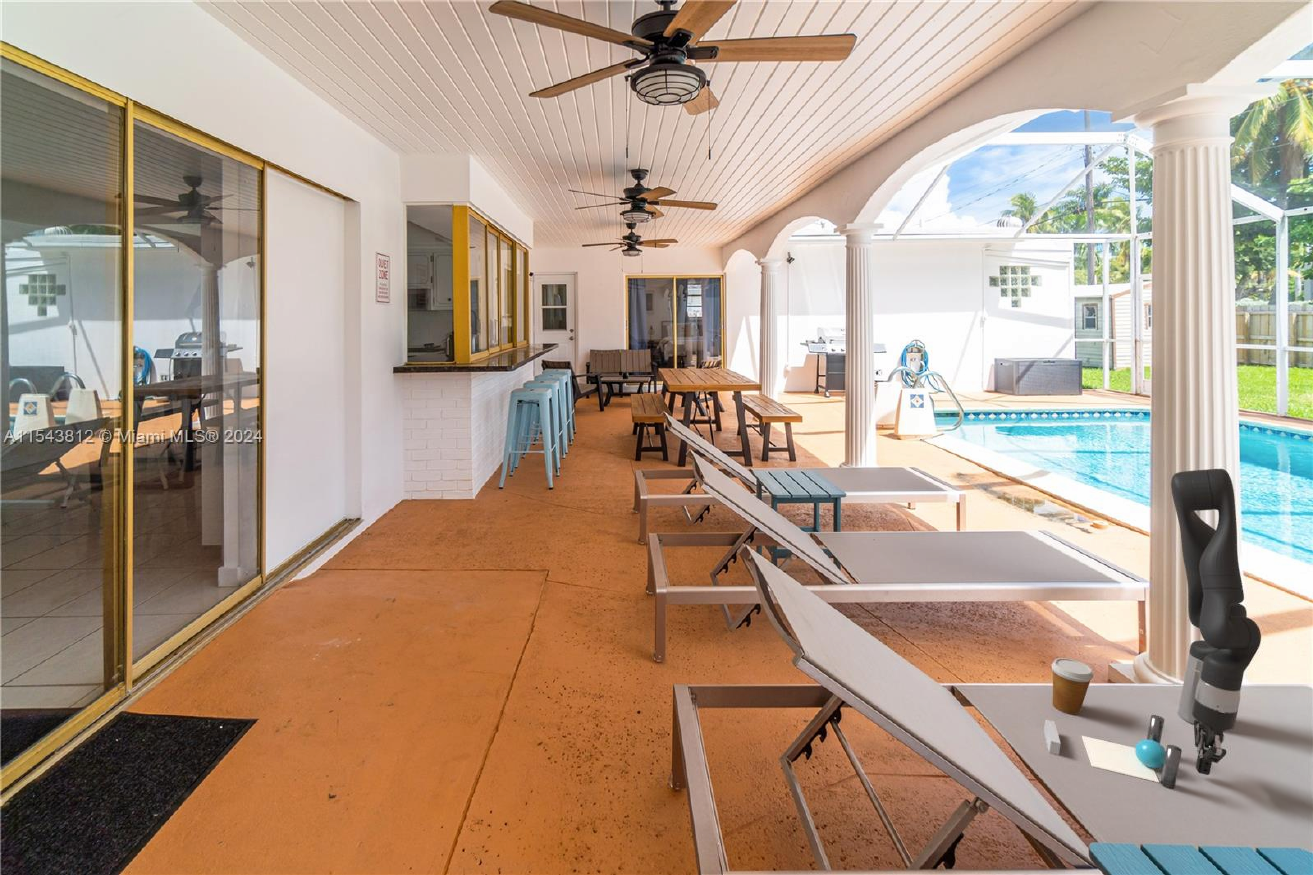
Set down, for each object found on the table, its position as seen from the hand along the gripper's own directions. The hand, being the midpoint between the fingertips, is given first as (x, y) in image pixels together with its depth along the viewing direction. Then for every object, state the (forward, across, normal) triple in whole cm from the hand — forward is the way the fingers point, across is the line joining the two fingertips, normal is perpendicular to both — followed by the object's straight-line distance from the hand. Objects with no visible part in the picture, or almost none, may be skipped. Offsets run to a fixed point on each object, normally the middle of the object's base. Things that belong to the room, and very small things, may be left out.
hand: (1202, 772), depth 156 cm
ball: (-2, 0, -10) cm, 10 cm away
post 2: (+2, +7, -8) cm, 10 cm away
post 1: (+2, -6, -8) cm, 10 cm away
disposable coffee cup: (+2, -20, -24) cm, 31 cm away
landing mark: (+2, 0, -16) cm, 16 cm away
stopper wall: (+2, 0, -30) cm, 30 cm away
